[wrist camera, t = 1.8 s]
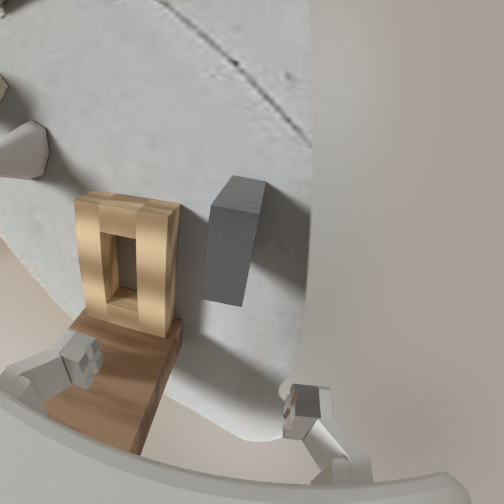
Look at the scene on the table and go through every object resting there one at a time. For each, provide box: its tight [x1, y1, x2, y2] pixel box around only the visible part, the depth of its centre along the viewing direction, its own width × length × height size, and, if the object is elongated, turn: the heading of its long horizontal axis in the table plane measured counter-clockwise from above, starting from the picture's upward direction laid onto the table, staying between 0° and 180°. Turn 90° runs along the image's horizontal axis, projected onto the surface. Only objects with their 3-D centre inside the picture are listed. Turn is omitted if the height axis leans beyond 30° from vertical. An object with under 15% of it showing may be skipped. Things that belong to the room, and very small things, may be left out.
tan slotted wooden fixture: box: [43, 190, 182, 456], centre depth 22 cm, size 18×12×22 cm, turn 170°
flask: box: [0, 120, 49, 179], centre depth 21 cm, size 7×7×10 cm
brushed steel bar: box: [201, 176, 266, 307], centre depth 24 cm, size 7×3×9 cm, turn 170°
